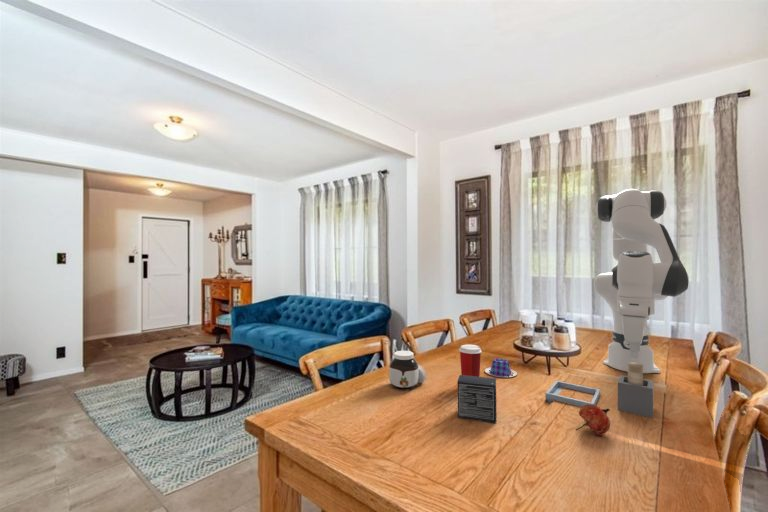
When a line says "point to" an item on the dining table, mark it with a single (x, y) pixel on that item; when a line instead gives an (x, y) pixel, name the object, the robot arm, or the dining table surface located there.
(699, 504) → the dining table surface
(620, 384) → the grey open-top box
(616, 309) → the robot arm
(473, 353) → the paper cup
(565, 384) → the slate tray
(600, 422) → the pomegranate
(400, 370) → the spread jar
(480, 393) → the small box
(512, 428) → the dining table surface
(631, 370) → the maple dowel
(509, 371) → the pudding
